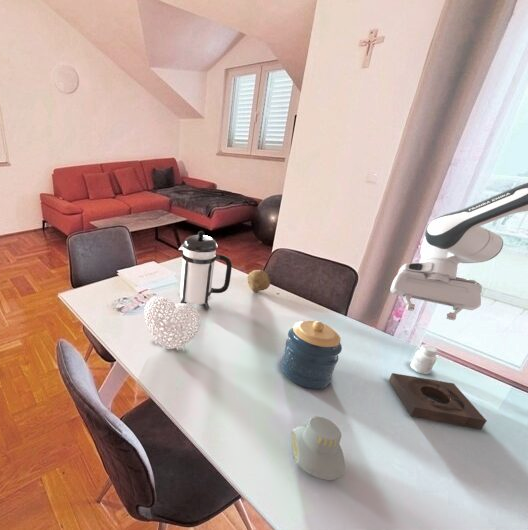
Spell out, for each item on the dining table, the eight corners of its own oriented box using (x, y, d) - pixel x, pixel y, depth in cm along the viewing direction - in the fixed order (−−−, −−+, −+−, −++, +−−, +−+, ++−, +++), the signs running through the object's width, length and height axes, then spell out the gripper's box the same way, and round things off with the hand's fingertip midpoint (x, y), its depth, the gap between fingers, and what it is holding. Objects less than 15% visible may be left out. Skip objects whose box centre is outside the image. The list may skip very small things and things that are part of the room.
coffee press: (193, 316, 118) (201, 241, 105) (168, 297, 130) (172, 228, 118) (227, 304, 125) (238, 233, 113) (200, 288, 138) (207, 222, 126)
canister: (304, 354, 98) (318, 305, 91) (341, 383, 87) (360, 331, 79) (270, 363, 94) (281, 313, 87) (304, 395, 83) (321, 341, 76)
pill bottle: (427, 367, 92) (438, 346, 89) (431, 376, 89) (442, 355, 86) (408, 362, 95) (418, 341, 91) (411, 370, 91) (421, 349, 88)
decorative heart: (201, 347, 101) (207, 301, 94) (190, 367, 93) (195, 319, 86) (151, 330, 109) (153, 287, 102) (137, 347, 101) (137, 302, 94)
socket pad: (449, 391, 84) (453, 383, 83) (481, 429, 74) (487, 420, 72) (388, 381, 88) (392, 372, 86) (410, 416, 77) (415, 407, 76)
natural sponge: (264, 287, 138) (269, 266, 134) (270, 297, 130) (275, 276, 126) (243, 286, 139) (247, 265, 135) (247, 296, 131) (251, 274, 127)
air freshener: (343, 492, 61) (358, 458, 57) (297, 480, 63) (308, 447, 59) (327, 442, 71) (339, 410, 67) (287, 433, 73) (296, 402, 69)
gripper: (476, 285, 96) (471, 327, 92) (392, 270, 106) (385, 307, 102) (488, 277, 90) (483, 322, 87) (398, 262, 101) (391, 302, 97)
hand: (429, 314), depth 95 cm, fingers open, 8 cm apart
